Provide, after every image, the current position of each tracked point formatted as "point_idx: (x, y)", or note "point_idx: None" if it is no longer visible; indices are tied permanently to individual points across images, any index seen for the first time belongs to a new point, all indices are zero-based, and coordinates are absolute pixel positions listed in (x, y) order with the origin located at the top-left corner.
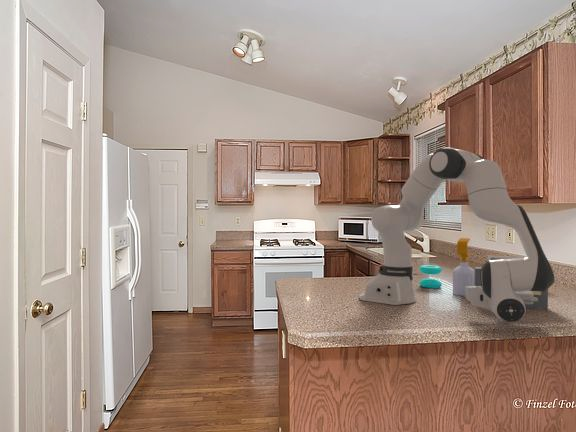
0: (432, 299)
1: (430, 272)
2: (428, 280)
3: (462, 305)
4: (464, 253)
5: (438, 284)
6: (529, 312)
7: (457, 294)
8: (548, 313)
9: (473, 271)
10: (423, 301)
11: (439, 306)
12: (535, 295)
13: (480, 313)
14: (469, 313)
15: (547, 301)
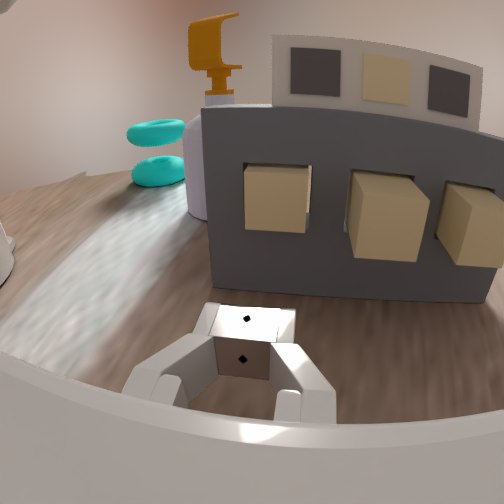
0: (71, 263)
1: (144, 141)
2: (147, 164)
3: (135, 318)
4: (211, 60)
5: (171, 173)
6: (437, 361)
7: (193, 215)
8: (497, 348)
9: None
10: (22, 287)
11: (25, 340)
12: None
13: None
14: None
15: (494, 274)
